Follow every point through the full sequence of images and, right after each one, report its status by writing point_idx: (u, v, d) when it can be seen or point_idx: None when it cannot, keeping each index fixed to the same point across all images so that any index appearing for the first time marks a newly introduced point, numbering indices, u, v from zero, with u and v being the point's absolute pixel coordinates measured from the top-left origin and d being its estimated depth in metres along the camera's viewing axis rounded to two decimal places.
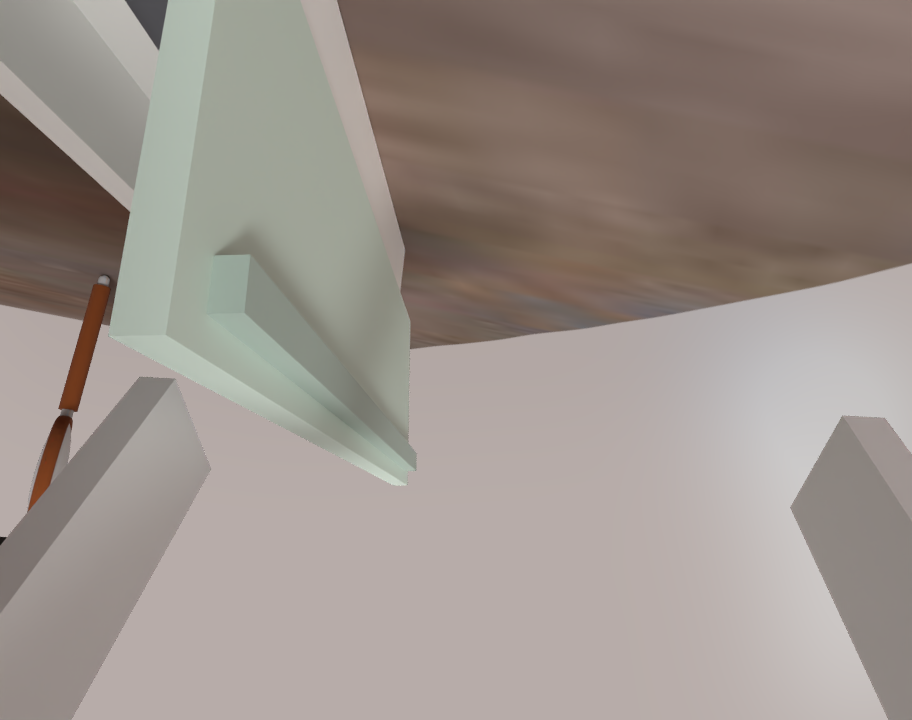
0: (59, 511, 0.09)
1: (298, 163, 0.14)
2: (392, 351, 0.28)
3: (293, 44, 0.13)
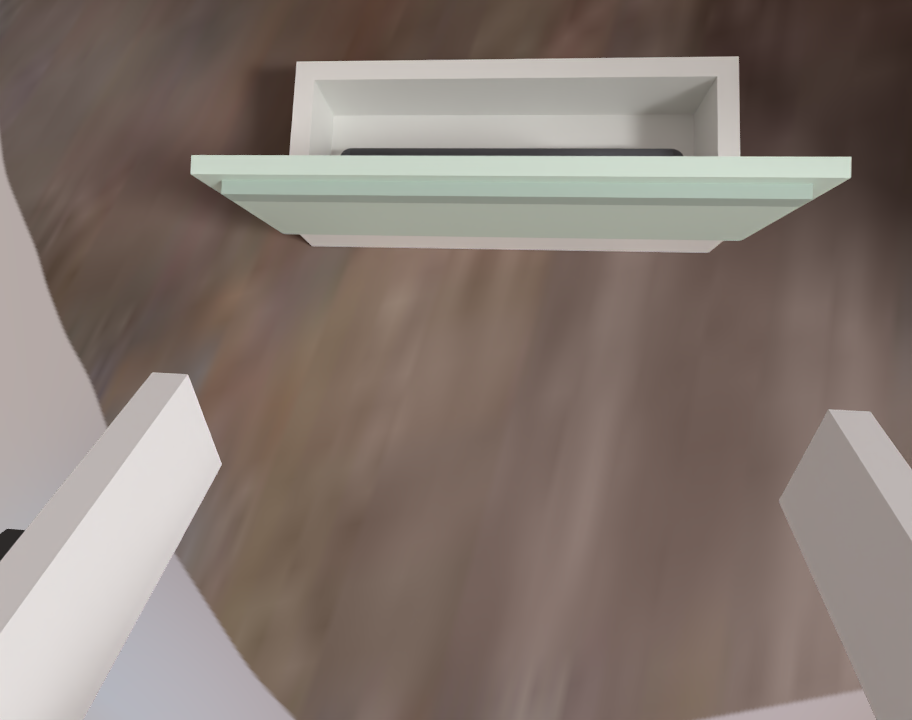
0: (76, 504, 0.09)
1: (681, 219, 0.28)
2: (379, 215, 0.29)
3: (684, 233, 0.30)
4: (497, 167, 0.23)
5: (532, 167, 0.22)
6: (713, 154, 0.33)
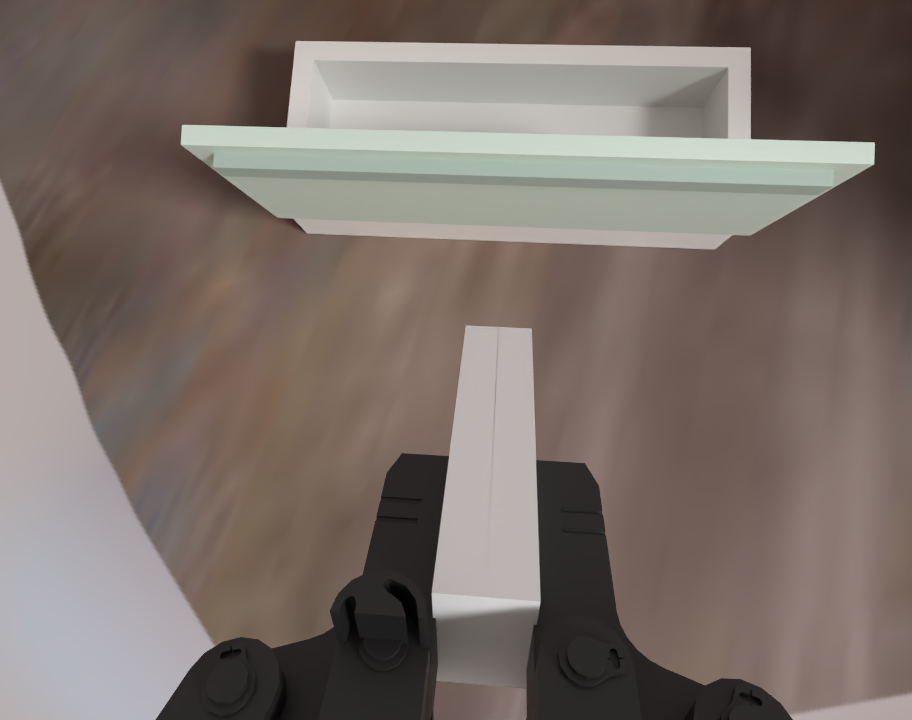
0: (478, 428, 0.10)
1: (692, 209, 0.27)
2: (378, 198, 0.28)
3: (693, 225, 0.29)
4: (505, 145, 0.21)
5: (542, 146, 0.21)
6: None
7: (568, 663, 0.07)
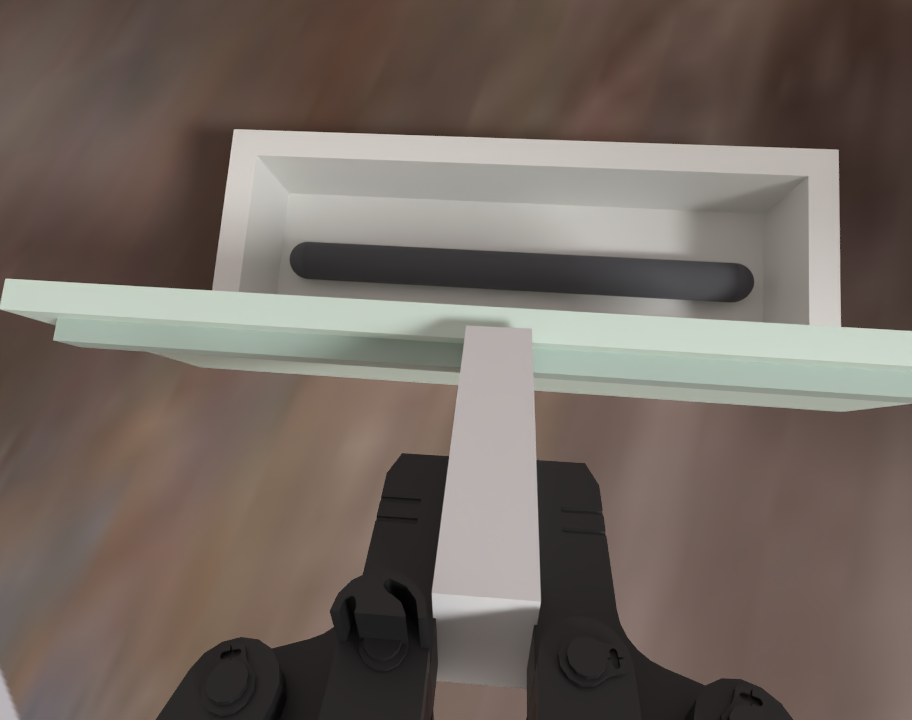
0: (478, 428, 0.10)
1: None
2: None
3: (767, 401, 0.21)
4: (503, 326, 0.13)
5: (563, 330, 0.13)
6: (800, 282, 0.24)
7: (568, 663, 0.07)
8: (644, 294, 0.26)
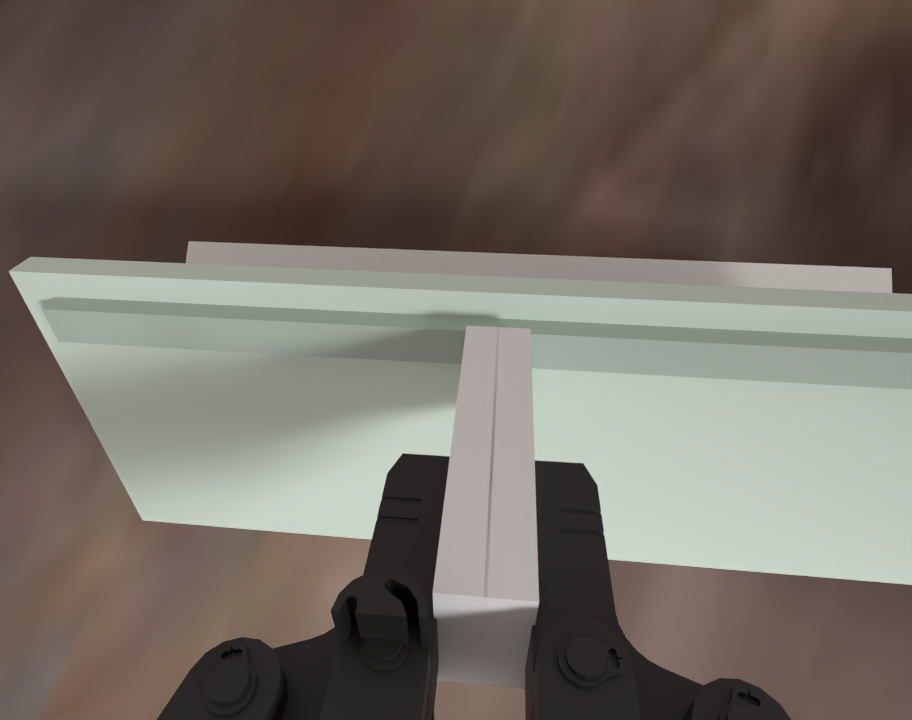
0: (479, 428, 0.10)
1: (817, 489, 0.16)
2: (303, 453, 0.17)
3: (818, 547, 0.18)
4: (512, 285, 0.14)
5: (571, 288, 0.13)
6: None
7: (567, 663, 0.07)
8: None
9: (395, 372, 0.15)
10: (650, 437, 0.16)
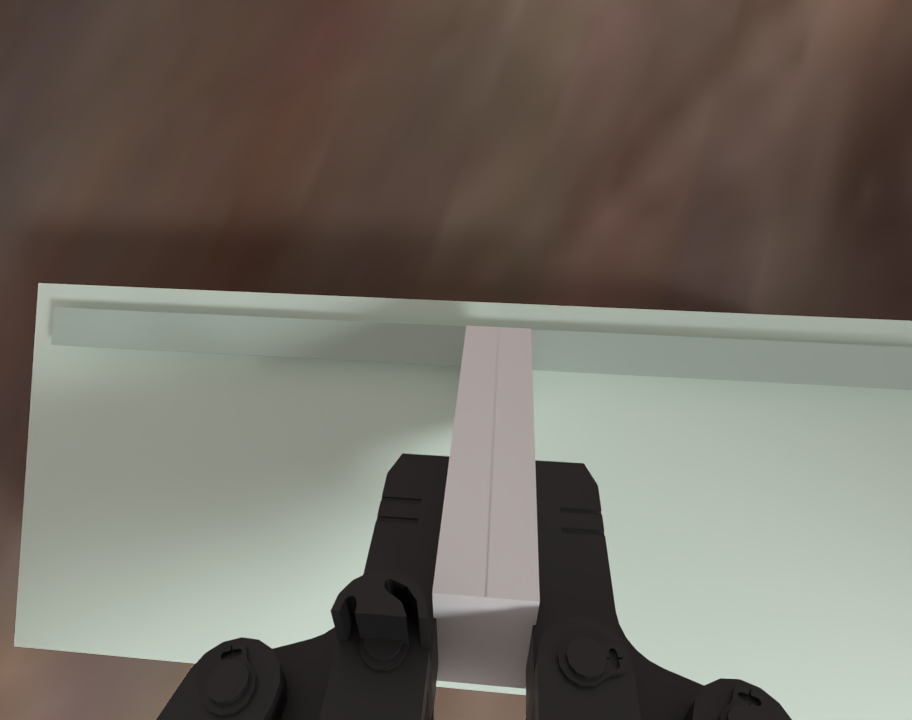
0: (479, 428, 0.10)
1: (845, 556, 0.14)
2: (257, 514, 0.15)
3: (881, 666, 0.14)
4: None
5: None
6: None
7: (567, 663, 0.07)
8: None
9: (379, 394, 0.15)
10: (645, 478, 0.14)
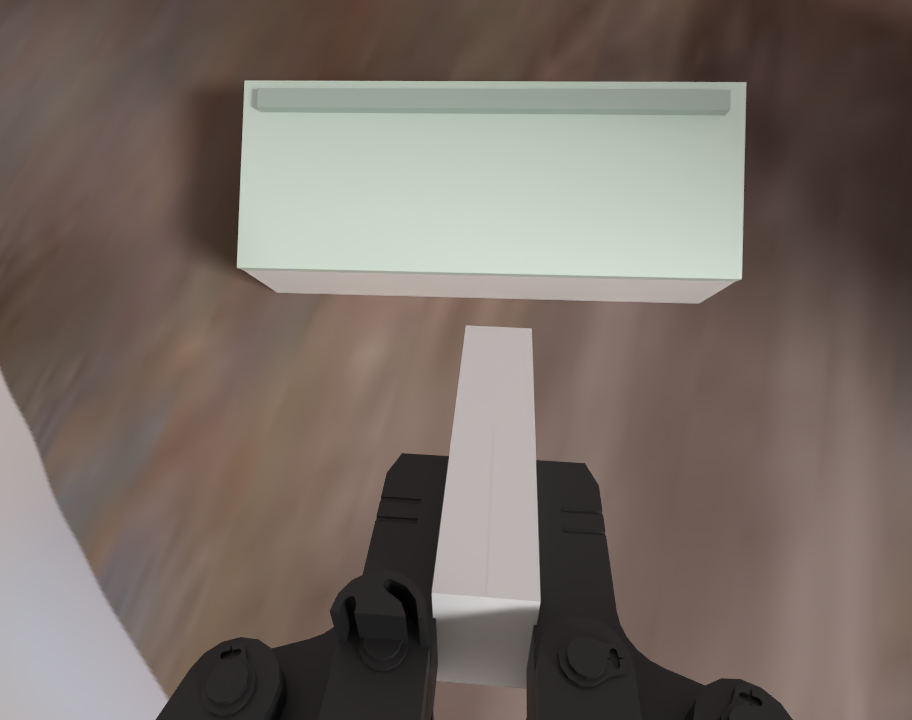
0: (478, 428, 0.10)
1: (654, 196, 0.29)
2: (363, 192, 0.30)
3: (672, 247, 0.29)
4: None
5: None
6: None
7: (568, 663, 0.07)
8: None
9: (425, 129, 0.30)
10: (558, 164, 0.29)
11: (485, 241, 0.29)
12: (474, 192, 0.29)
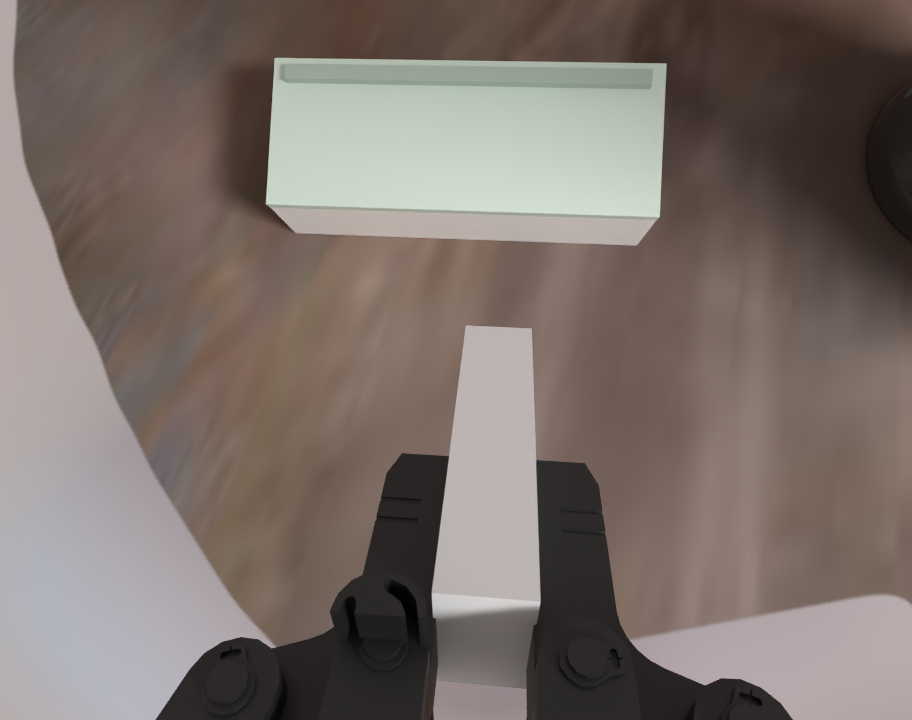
0: (478, 428, 0.10)
1: (593, 152, 0.37)
2: (366, 146, 0.38)
3: (605, 192, 0.37)
4: None
5: None
6: None
7: (568, 663, 0.07)
8: None
9: (415, 97, 0.38)
10: (518, 126, 0.37)
11: (460, 185, 0.37)
12: (452, 147, 0.38)
